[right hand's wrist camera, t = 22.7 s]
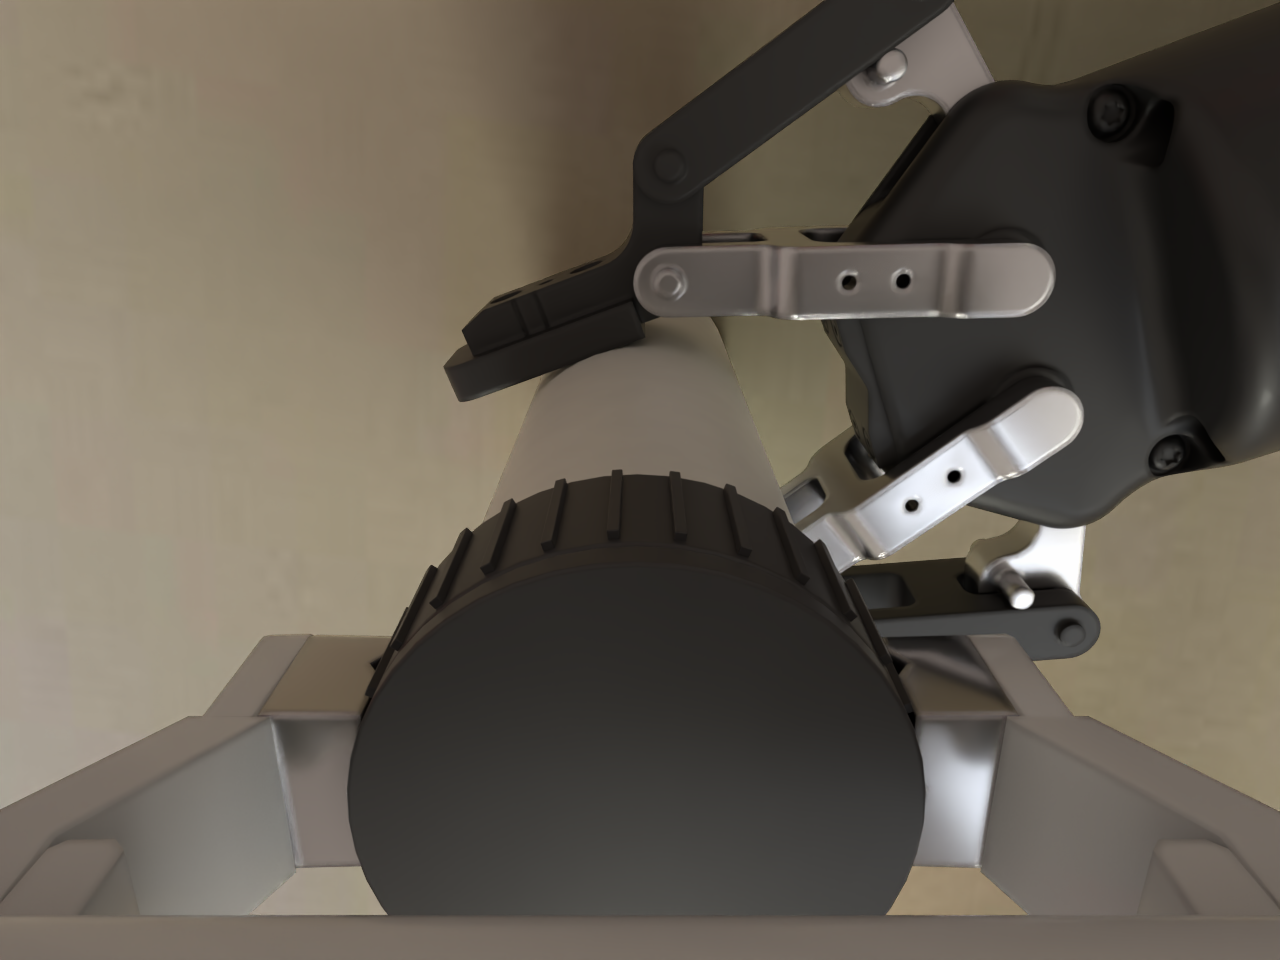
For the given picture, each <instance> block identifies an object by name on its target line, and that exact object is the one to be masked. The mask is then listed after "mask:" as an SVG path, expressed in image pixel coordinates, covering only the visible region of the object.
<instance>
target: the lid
mask: <svg viewBox="0 0 1280 960" xmlns="http://www.w3.org/2000/svg"><path fill="white" fill-rule="evenodd" d="M892 662H893V661H892V659H891V656H890V654H889V652H888V650H887V648H886V646H885V644H884V642H883V640H882V638H881V635H880V633H879V631H878V629H877V627H876V625H875V623H874V621H873V619H872V617H871V615H870V612H869V610H868V608H867V606H866V604H865V602H864V600H863V598H862V596H861V594H860V591H859V589H858V587H857V585H856V583H855V582H854V580H853V579H852V578H851V579H849V580H847V581H845V580H844V579H843V577H842V576H841V574H840V573H839V571H838V570H837V568H836V566H835V564H834V562H833V560H832V557H831V555H830V553H829V551H828V549H827V546H826V544H825V543H824V542H823V541H822V540H821V539H819V540H817V541H816V542H815V543H814V542H813V541H812V540H810V539H809V538H808V537H807V536H806V535H805V534H803V533H802V532H801V531H800V530H799V529H798V528H796V527H795V526H794V525H793V524H792V523H790V522H789V521H788V518H787V515H786V513H785V511H784V510H782V509H780V508H779V507H776V508H775V510H774V511H771V510H770V509H768V508H767V507H765V506H763V505H761V504H759V503H757V502H755V501H752V500H750V499H748V498H746V497H744V496H742V495H740V494H738V493H737V490H736V487H735V486H733V485H730V484H726V485H725V487H724V489H723V488H720V487H717V486H714V485H710V484H707V483H704V482H699V481H694V480H688V479H683V478H681V475H680V472H675V471H670V473H669V476H659V475H643V474H631V475H623V470H622V469H618V470H612V474H611V476H602V477H596V478H591V479H585V480H580V481H574V482H570V483H567V482H566V479H565V478H563V479H560V480H556V481H555V485H554V488H551V489H548V490H545V491H541V492H539V493H536V494H534V495H532V496H530V497H528V498H526V499H523V500H521V501H519V502H517V503H515V501H514V500H513V498H511V499H509V500H507V501H505V502H504V503H503V506H502V509H501V511H500V512H499V513H498V514H496V515H495V516H493V517H491V518H490V519H488V520H487V521H485V522H484V523H482V524H481V525H480V526H479V527H478V528H476V529H475V530H474V531H473V532H471V531H470V530H469V529H468V528H466V529H464V530H463V531H462V532H461V533H460V535H459V537H458V539H457V541H456V544H455V546H454V548H453V550H452V552H451V553H450V554H449V555H448V556H447V557H446V558H445V560H444V561H443V562H442V563H441V564H440V565H439V567H438V568H436V567H434V566H433V565H430V567H429V568H428V570H427V571H426V573H425V575H424V577H423V579H422V581H421V583H420V585H419V587H418V589H417V591H416V593H415V596H414V598H413V600H412V602H411V604H410V606H409V608H408V607H407V608H406V609H405V611H404V613H403V615H402V617H401V619H400V622H399V624H398V626H397V628H396V630H395V632H394V634H393V636H392V638H391V640H390V642H389V644H388V646H387V648H386V650H385V652H384V654H383V656H382V658H381V660H380V662H379V664H378V666H377V668H376V670H375V672H374V674H373V676H372V678H371V680H370V682H369V684H368V687H367V689H366V692H365V696H368V697H371V698H372V700H371V702H370V704H369V706H368V708H367V710H366V712H365V715H364V717H363V719H362V721H361V723H360V725H359V728H358V732H357V735H356V739H355V742H354V746H353V749H352V753H351V757H350V764H349V773H348V783H347V801H348V819H349V824H350V829H351V834H352V838H353V843H354V847H355V852H356V854H357V857H358V859H359V862H360V865H361V867H362V870H363V872H364V875H365V877H366V880H367V882H368V883H369V885H370V887H371V889H372V890H373V892H374V894H375V896H376V898H377V899H378V901H379V903H380V905H381V906H382V908H383V909H384V910H385V912H386V913H387V914H388V915H886V913H887V912H888V911H889V910H890V908H891V907H892V905H893V903H894V901H895V900H896V898H897V896H898V894H899V893H900V891H901V889H902V888H903V886H904V884H905V882H906V880H907V878H908V875H909V873H910V870H911V867H912V865H913V862H914V860H915V857H916V855H917V852H918V847H919V843H920V838H921V834H922V829H923V825H924V816H925V800H926V785H925V775H924V766H923V758H922V755H921V751H920V747H919V744H918V740H917V736H916V733H915V729H914V727H913V725H912V722H911V720H910V718H909V716H908V714H907V713H911V712H913V711H914V710H913V706H912V703H911V701H910V699H909V697H908V695H907V692H906V690H905V688H904V686H903V684H902V682H901V680H900V678H899V676H898V673H897V671H896V669H895V667H894V665H893V663H892Z"/></svg>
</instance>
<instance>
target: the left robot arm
mask: <svg viewBox="0 0 1280 960" xmlns="http://www.w3.org/2000/svg"><path fill="white" fill-rule="evenodd" d="M953 1H954V0H824V1H823V2H821V3H820V4H819V5H817V6H816V7H815V8H813V9H812V10H811V11H809V12H808V13H807V14H806V15H804V16H803V17H802V18H800V19H799V20H798V21H796V22H795V23H794V24H792V25H791V26H790V27H788V28H787V29H786V30H784V31H783V32H782V33H780V34H779V35H778V36H776V37H775V38H774V39H772V40H771V41H770V42H768V43H767V44H766V45H764V46H763V47H762V48H761V49H759V50H758V51H757V52H755V53H754V54H753V55H751V56H750V57H749V58H747V59H746V60H745V61H743V62H742V63H741V64H739V65H738V66H737V67H735V68H734V69H733V70H731V71H730V72H729V73H727V74H726V75H725V76H723V77H722V78H721V79H719V80H718V81H717V82H715V83H714V84H713V85H712V86H710V87H709V88H708V89H706V90H705V91H704V92H702V93H701V94H700V95H698V96H697V97H696V98H694V99H693V100H692V101H690V102H689V103H688V104H686V105H685V106H684V107H682V108H681V109H680V110H678V111H677V112H676V113H674V114H673V115H672V116H670V117H669V118H668V119H666V120H665V121H664V122H663V123H661V124H660V125H659V126H657V127H656V128H655V129H653V130H652V131H651V132H649V133H648V134H647V135H646V136H645V137H643V139H642V140H641V141H640V142H639V144H638V146H637V148H636V151H635V155H634V160H633V226H632V229H631V232H630V234H629V236H628V238H627V239H626V241H625V242H624V243H623V244H622V245H621V246H620V247H619V248H618V249H617V250H615V251H614V252H613V253H610V254H608V255H606V256H603V257H601V258H598V259H595V260H593V261H590V262H587V263H585V264H582V265H579V266H577V267H574V268H571V269H569V270H566V271H563V272H561V273H558V274H555V275H553V276H550V277H547V278H545V279H543V280H540V281H537V282H534V283H531V284H529V285H526V286H524V287H521V288H518V289H515V290H513V291H510V292H507V293H505V294H502V295H499V296H497V297H494V298H493V299H492V300H491V301H490V302H489V303H488V304H487V305H486V306H485V307H484V308H483V309H482V310H480V311H479V312H478V313H477V314H476V315H475V316H474V317H473V318H472V320H471V321H470V322H469V323H468V324H467V325H466V326H465V327H464V328H463V330H462V332H463V334H464V337H465V339H466V341H467V345H465V346H463V347H461V348H460V349H458V350H457V351H456V352H455V353H454V354H453V356H452V357H451V358H450V359H449V360H448V361H447V363H446V364H445V365H444V366H443V367H444V369H445V372H446V374H447V376H448V378H449V380H450V383H451V385H452V387H453V389H454V392H455V394H456V396H457V398H458V400H459V401H460V402H465V401H470V400H473V399H476V398H479V397H482V396H485V395H488V394H491V393H493V392H496V391H499V390H502V389H504V388H507V387H510V386H513V385H515V384H518V383H521V382H524V381H527V380H529V379H532V378H535V377H538V376H540V375H543V374H546V373H549V372H552V371H554V370H557V369H560V368H563V367H565V366H568V365H571V364H574V363H577V362H579V361H582V360H585V359H587V358H589V357H592V356H594V355H597V354H600V353H604V352H607V351H610V350H613V349H615V348H618V347H621V346H624V345H626V344H629V343H632V342H635V341H638V340H640V339H643V338H645V322H648V321H651V320H653V319H656V318H659V317H666V318H676V317H714V316H753V315H760V316H770V317H774V318H778V319H787V320H816V319H821V320H822V324H823V327H824V331H825V332H826V334H827V336H828V337H829V339H830V340H831V342H832V343H833V345H834V347H835V348H836V350H837V351H838V353H839V354H840V356H841V358H842V359H843V361H844V363H845V367H846V405H847V408H848V412H849V415H850V418H851V422H852V426H851V427H850V428H848V429H847V430H845V431H844V432H843V433H841V434H840V435H838V436H837V437H836V438H834V439H833V440H831V441H830V442H829V443H827V444H826V445H824V446H823V447H822V448H821V449H819V450H818V451H817V452H816V453H815V454H814V455H813V456H812V458H811V459H810V461H809V464H808V466H807V467H806V468H805V470H804V471H803V472H801V473H800V474H799V475H798V476H796V477H795V478H793V479H792V480H791V481H789V482H788V483H786V484H785V485H784V486H782V487H781V488H780V490H781V492H782V495H783V498H784V500H785V503H786V505H787V508H788V510H789V513H790V516H791V518H792V521H793V523H794V526H795V527H796V528H798V529H799V530H800V531H801V532H802V533H803V534H805V535H806V536H807V537H808V538H809V539H810V540H812V541H813V542H814V543H815V542H816V541H817V540H819V539H821V540H822V541H823V542H824V543H825V544H826V546H827V549H828V551H829V553H830V555H831V557H832V560H833V562H834V564H835V566H836V568H837V570H838V571H839V573H840V574H841V576H842V577H843V579H844V580H845V581H847V580H849V579H851V578H852V579H853V580H854V582H855V583H856V585H857V587H858V589H859V591H860V594H861V596H862V598H863V600H864V602H865V604H866V606H867V608H868V610H869V612H870V615H871V617H872V619H873V621H874V623H875V625H876V627H877V629H878V631H879V633H880V635H881V637H905V636H946V635H986V634H1008V635H1010V636H1012V637H1014V638H1015V639H1016V640H1017V641H1018V643H1019V644H1020V645H1021V647H1022V648H1023V649H1024V651H1025V652H1026V653H1027V655H1028V656H1029V657H1030V659H1031V660H1032V661H1037V660H1051V659H1065V658H1073V657H1076V656H1079V655H1081V654H1083V653H1085V652H1087V651H1088V650H1089V649H1090V648H1091V647H1092V646H1093V645H1094V644H1095V643H1096V641H1097V639H1098V637H1099V634H1100V629H1101V627H1100V621H1099V619H1098V617H1097V615H1096V614H1095V613H1094V612H1093V611H1092V610H1091V609H1090V608H1089V607H1088V605H1087V604H1086V603H1085V602H1084V601H1083V599H1082V598H1081V596H1080V582H1081V571H1082V561H1083V550H1084V540H1085V530H1086V525H1088V524H1090V523H1093V522H1095V521H1097V520H1099V519H1101V518H1102V517H1104V516H1105V515H1107V514H1108V513H1109V512H1110V511H1112V510H1113V509H1114V508H1115V507H1116V506H1117V505H1118V504H1119V503H1120V502H1121V501H1123V500H1124V499H1125V498H1126V497H1128V496H1129V495H1130V494H1131V493H1133V492H1134V491H1136V490H1137V489H1139V488H1140V487H1142V486H1144V485H1145V484H1147V483H1149V482H1151V481H1153V480H1155V479H1158V478H1160V477H1164V476H1168V475H1173V474H1179V473H1185V472H1191V471H1198V470H1205V469H1212V468H1218V467H1224V466H1229V465H1234V464H1238V463H1242V462H1245V461H1248V460H1251V459H1255V458H1258V457H1261V456H1264V455H1267V454H1270V453H1273V452H1277V451H1280V2H1279V3H1276V4H1274V5H1271V6H1269V7H1266V8H1263V9H1261V10H1258V11H1255V12H1253V13H1250V14H1247V15H1245V16H1242V17H1239V18H1237V19H1234V20H1231V21H1229V22H1226V23H1223V24H1221V25H1218V26H1215V27H1213V28H1210V29H1207V30H1205V31H1202V32H1199V33H1197V34H1194V35H1191V36H1189V37H1186V38H1183V39H1181V40H1178V41H1175V42H1173V43H1170V44H1167V45H1165V46H1162V47H1159V48H1157V49H1154V50H1152V51H1149V52H1146V53H1144V54H1141V55H1138V56H1136V57H1133V58H1130V59H1128V60H1125V61H1122V62H1120V63H1117V64H1114V65H1112V66H1109V67H1106V68H1104V69H1101V70H1098V71H1096V72H1093V73H1090V74H1088V75H1085V76H1082V77H1080V78H1077V79H1074V80H1071V81H1068V82H1065V83H1061V84H1058V85H1040V84H1034V83H1029V82H1025V81H1018V80H1004V81H997V82H995V81H994V79H993V77H992V75H991V73H990V71H989V69H988V67H987V65H986V63H985V61H984V60H983V58H982V56H981V54H980V52H979V50H978V48H977V46H976V44H975V42H974V40H973V39H972V37H971V35H970V33H969V31H968V29H967V27H966V25H965V23H964V21H963V19H962V17H961V16H960V14H959V12H958V10H957V8H956V6H955V4H954V2H953ZM836 90H838V92H839V94H840V95H841V96H842V98H843V99H844V100H845V101H846V102H848V103H849V104H851V105H853V106H855V107H858V108H876V107H884V106H888V105H891V104H893V103H895V102H897V101H899V100H901V99H903V98H910V99H914V100H916V101H918V102H920V103H921V104H922V105H924V106H925V107H926V108H927V110H928V111H929V113H930V116H929V117H928V118H927V120H926V121H925V122H924V124H923V125H922V127H921V128H920V129H919V131H918V132H917V133H916V135H915V136H914V137H913V139H912V140H911V142H910V143H909V144H908V146H907V147H906V148H905V150H904V151H903V152H902V154H901V155H900V157H899V158H898V159H897V161H896V162H895V163H894V165H893V166H892V168H891V169H890V170H889V172H888V173H887V174H886V176H885V177H884V178H883V180H882V181H881V183H880V184H879V185H878V187H877V188H876V189H875V191H874V192H873V193H872V195H871V196H870V198H869V199H868V200H867V202H866V203H865V204H864V206H863V207H862V209H861V210H860V211H859V213H858V214H857V215H856V217H855V218H854V219H853V221H852V222H851V224H850V225H831V226H794V227H766V228H757V229H753V230H741V231H704V232H702V231H703V188H704V186H706V185H707V184H709V183H710V182H711V181H713V180H714V179H715V178H717V177H718V176H720V175H721V174H722V173H724V172H725V171H726V170H728V169H729V168H731V167H732V166H733V165H735V164H736V163H737V162H739V161H740V160H741V159H743V158H744V157H746V156H747V155H748V154H750V153H751V152H752V151H754V150H755V149H757V148H758V147H759V146H761V145H762V144H763V143H765V142H766V141H768V140H769V139H770V138H772V137H773V136H774V135H776V134H777V133H779V132H780V131H781V130H783V129H784V128H785V127H787V126H788V125H789V124H791V123H792V122H794V121H795V120H796V119H798V118H799V117H800V116H802V115H803V114H805V113H806V112H807V111H809V110H810V109H811V108H813V107H814V106H816V105H817V104H818V103H820V102H821V101H822V100H824V99H825V98H827V97H828V96H829V95H831V94H832V93H833V92H835V91H836ZM965 505H968V506H971V507H975V508H979V509H982V510H986V511H990V512H993V513H997V514H1001V515H1004V516H1008V517H1012V518H1015V519H1019V521H1018V522H1017V524H1016V525H1015V526H1014V527H1013V528H1012V529H1011V530H1010V531H1008V532H1007V533H1005V534H1003V535H1001V536H998V537H994V538H989V539H979V540H976V541H975V542H974V543H973V544H972V545H971V547H970V552H969V553H968V555H967V557H965V558H952V559H939V560H926V561H913V562H900V563H886V564H873V565H860V566H852V565H854V564H855V563H857V562H859V561H861V560H864V559H870V560H880V559H883V558H886V557H888V556H890V555H892V554H893V553H895V552H896V551H898V550H899V549H901V548H902V547H904V546H905V545H907V544H908V543H910V542H911V541H913V540H914V539H916V538H917V537H919V536H920V535H922V534H923V533H925V532H926V531H928V530H929V529H931V528H932V527H934V526H935V525H937V524H938V523H940V522H941V521H943V520H944V519H946V518H947V517H949V516H950V515H952V514H953V513H954V512H956V511H957V510H959V509H960V508H962V507H963V506H965Z"/></svg>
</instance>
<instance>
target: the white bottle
mask: <svg viewBox="0 0 1280 960" xmlns="http://www.w3.org/2000/svg"><path fill="white" fill-rule="evenodd" d="M618 469H622V470H623V475H631V474H643V475H659V476H669V473H670V471H675V472H680V475H681V478H683V479H688V480H694V481H699V482H704V483H707V484H710V485H714V486H717V487H720V488H723V489H724V487H725V485H726V484H730V485H733V486H735V487H736V490H737V493H738V494H740V495H742V496H744V497H746V498H748V499H750V500H752V501H755V502H757V503H759V504H761V505H763V506H765V507H767V508H768V509H770V510H771V511H774V510H775V508H776V507H779V508H780V509H782V510H784V511H785V513H786V515H787V518H788V521H789V522H790V523H792V524H793V525H794V523H793V521H792V518H791V516H790V513H789V510H788V508H787V505H786V503H785V500H784V498H783V495H782V492H781V490H780V487H779V485H778V482H777V480H776V477H775V474H774V472H773V469H772V467H771V464H770V462H769V459H768V457H767V454H766V451H765V449H764V446H763V444H762V441H761V439H760V436H759V433H758V431H757V428H756V426H755V423H754V421H753V418H752V415H751V413H750V410H749V408H748V405H747V403H746V400H745V397H744V395H743V392H742V390H741V387H740V385H739V382H738V379H737V377H736V374H735V372H734V369H733V367H732V364H731V361H730V359H729V356H728V354H727V351H726V349H725V346H724V343H723V341H722V338H721V336H720V334H719V331H718V329H717V327H716V326H715V324H714V322H713V321H712V319H711V318H710V317H676V318H666V317H659V318H656V319H653V320H651V321H648V322H645V338H643V339H640V340H638V341H635V342H632V343H629V344H626V345H624V346H621V347H618V348H615V349H613V350H610V351H607V352H604V353H600V354H597V355H594V356H592V357H589V358H587V359H585V360H582V361H579V362H577V363H574V364H571V365H568V366H565V367H563V368H560V369H557V370H554V371H552V372H549V373H546V374H543V375H542V378H541V380H540V383H539V385H538V388H537V390H536V392H535V395H534V397H533V400H532V402H531V405H530V407H529V410H528V412H527V415H526V417H525V420H524V422H523V424H522V427H521V429H520V432H519V434H518V437H517V439H516V442H515V444H514V447H513V449H512V452H511V454H510V457H509V459H508V461H507V464H506V466H505V469H504V471H503V474H502V476H501V479H500V481H499V484H498V486H497V489H496V491H495V494H494V496H493V498H492V501H491V503H490V506H489V508H488V511H487V513H486V516H485V518H484V521H483V523H484V522H485V521H487V520H488V519H490V518H491V517H493V516H495V515H496V514H498V513H499V512H500V511H501V509H502V506H503V503H504V502H505V501H507V500H509V499H511V498H513V500H514V501H515V503H517V502H519V501H521V500H523V499H526V498H528V497H530V496H532V495H534V494H536V493H539V492H541V491H545V490H548V489H551V488H554V485H555V481H556V480H560V479H563V478H565V479H566V482H567V483H570V482H574V481H580V480H585V479H591V478H596V477H602V476H611V474H612V470H618Z"/></svg>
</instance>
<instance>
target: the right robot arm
mask: <svg viewBox="0 0 1280 960" xmlns="http://www.w3.org/2000/svg"><path fill="white" fill-rule="evenodd" d="M391 638H392V636H354V635H315V636H314V635H312V634H285V635H269V636H264V637H263V638H262V639H261V640H260V641H259V643H258V644H257V645H256V647H255V648H254V649H253V650H252V652H251V653H250V654H249V656H248V657H247V658H246V660H245V661H244V662H243V664H242V665H241V666H240V668H239V669H238V670H237V672H236V673H235V674H234V676H233V677H232V678H231V679H230V681H229V682H228V683H227V685H226V686H225V687H224V689H223V690H222V691H221V693H220V694H219V695H218V697H217V698H216V699H215V701H214V702H213V703H212V705H211V706H210V707H209V709H208V710H207V711H206V712H205V714H204V715H203V716H188V717H186V718H184V719H182V720H180V721H178V722H176V723H174V724H172V725H170V726H168V727H166V728H164V729H162V730H160V731H158V732H156V733H154V734H152V735H150V736H148V737H146V738H144V739H142V740H140V741H138V742H136V743H134V744H132V745H130V746H128V747H126V748H124V749H122V750H120V751H118V752H116V753H113V754H111V755H109V756H107V757H105V758H103V759H101V760H99V761H97V762H95V763H93V764H91V765H89V766H87V767H85V768H83V769H81V770H79V771H77V772H75V773H73V774H71V775H69V776H67V777H65V778H63V779H61V780H59V781H57V782H55V783H53V784H51V785H49V786H47V787H45V788H43V789H41V790H39V791H37V792H35V793H33V794H31V795H29V796H27V797H25V798H23V799H21V800H19V801H17V802H15V803H13V804H11V805H9V806H7V807H5V808H3V809H1V810H0V960H1280V812H1279V811H1277V810H1275V809H1273V808H1271V807H1269V806H1267V805H1265V804H1263V803H1261V802H1259V801H1257V800H1255V799H1253V798H1251V797H1249V796H1247V795H1245V794H1243V793H1241V792H1239V791H1237V790H1235V789H1233V788H1231V787H1229V786H1227V785H1225V784H1223V783H1221V782H1219V781H1217V780H1215V779H1213V778H1211V777H1209V776H1207V775H1205V774H1203V773H1201V772H1199V771H1197V770H1195V769H1193V768H1191V767H1189V766H1187V765H1185V764H1183V763H1181V762H1179V761H1177V760H1175V759H1173V758H1171V757H1169V756H1167V755H1165V754H1163V753H1161V752H1159V751H1157V750H1155V749H1153V748H1151V747H1149V746H1147V745H1145V744H1143V743H1141V742H1139V741H1137V740H1135V739H1133V738H1131V737H1129V736H1127V735H1125V734H1123V733H1121V732H1119V731H1117V730H1115V729H1113V728H1111V727H1109V726H1107V725H1105V724H1103V723H1101V722H1099V721H1097V720H1095V719H1093V718H1091V717H1089V716H1074V715H1073V714H1072V713H1071V711H1070V710H1069V709H1068V707H1067V706H1066V705H1065V704H1064V702H1063V701H1062V700H1061V698H1060V697H1059V696H1058V694H1057V693H1056V692H1055V690H1054V689H1053V688H1052V686H1051V685H1050V684H1049V682H1048V681H1047V680H1046V678H1045V677H1044V676H1043V674H1042V673H1041V672H1040V671H1039V669H1038V668H1037V667H1036V665H1035V664H1034V663H1033V661H1032V660H1031V659H1030V657H1029V656H1028V655H1027V653H1026V652H1025V651H1024V649H1023V648H1022V647H1021V645H1020V644H1019V643H1018V641H1017V640H1016V639H1015V638H1014V637H1012V636H1010V635H1008V634H986V635H946V636H905V637H881V638H882V640H883V642H884V644H885V646H886V648H887V650H888V652H889V654H890V656H891V659H892V661H893V662H892V663H893V665H894V667H895V669H896V671H897V673H898V676H899V678H900V680H901V682H902V684H903V686H904V688H905V690H906V692H907V695H908V697H909V699H910V701H911V703H912V706H913V710H914V711H913V712H911V713H907V714H908V716H909V718H910V720H911V722H912V725H913V727H914V729H915V733H916V736H917V740H918V744H919V747H920V751H921V755H922V758H923V766H924V775H925V785H926V800H925V816H924V825H923V829H922V834H921V838H920V843H919V847H918V852H917V855H916V857H915V860H914V862H913V865H912V866H931V867H967V868H981V872H982V873H983V874H984V875H985V876H986V877H987V878H988V879H989V880H991V881H992V882H993V883H994V884H995V885H996V886H997V887H998V888H999V889H1001V890H1002V891H1003V892H1004V893H1005V894H1006V895H1007V896H1008V897H1010V898H1011V899H1012V900H1013V901H1014V902H1015V903H1016V904H1017V905H1018V906H1020V907H1021V908H1022V909H1023V910H1024V911H1025V912H1026V913H1027V914H1028V915H249V914H250V913H251V912H252V911H253V910H254V909H256V908H257V907H258V906H259V905H260V904H261V903H262V902H263V901H264V900H266V899H267V898H268V897H269V896H270V895H271V894H272V893H273V892H275V891H276V890H277V889H278V888H279V887H280V886H281V885H282V884H284V883H285V882H286V881H287V880H288V879H289V878H290V877H291V876H293V875H294V874H295V873H296V868H309V867H344V866H361V865H360V862H359V859H358V857H357V854H356V852H355V847H354V843H353V838H352V834H351V829H350V824H349V819H348V801H347V783H348V773H349V764H350V757H351V753H352V749H353V746H354V742H355V739H356V735H357V732H358V728H359V725H360V723H361V721H362V719H363V717H364V715H365V712H366V710H367V708H368V706H369V704H370V702H371V700H372V698H371V697H368V696H365V692H366V689H367V687H368V684H369V682H370V680H371V678H372V676H373V674H374V672H375V670H376V668H377V666H378V664H379V662H380V660H381V658H382V656H383V654H384V652H385V650H386V648H387V646H388V644H389V642H390V640H391Z"/></svg>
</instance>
